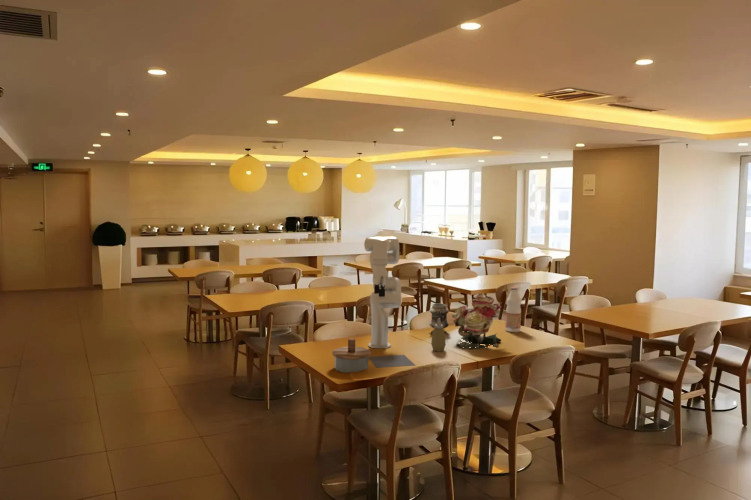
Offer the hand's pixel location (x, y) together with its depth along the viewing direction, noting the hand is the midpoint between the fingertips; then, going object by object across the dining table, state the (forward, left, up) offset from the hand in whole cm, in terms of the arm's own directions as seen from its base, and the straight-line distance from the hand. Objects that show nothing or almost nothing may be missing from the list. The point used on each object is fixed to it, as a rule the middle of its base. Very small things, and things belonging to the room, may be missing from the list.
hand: (379, 295), depth 299 cm
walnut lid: (+16, -18, -26) cm, 36 cm away
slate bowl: (+16, -18, -33) cm, 41 cm away
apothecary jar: (-47, +51, -34) cm, 77 cm away
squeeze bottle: (-7, +36, -34) cm, 50 cm away
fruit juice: (-43, +100, -34) cm, 114 cm away
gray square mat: (+10, +4, -33) cm, 35 cm away
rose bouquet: (-15, +62, -34) cm, 72 cm away
